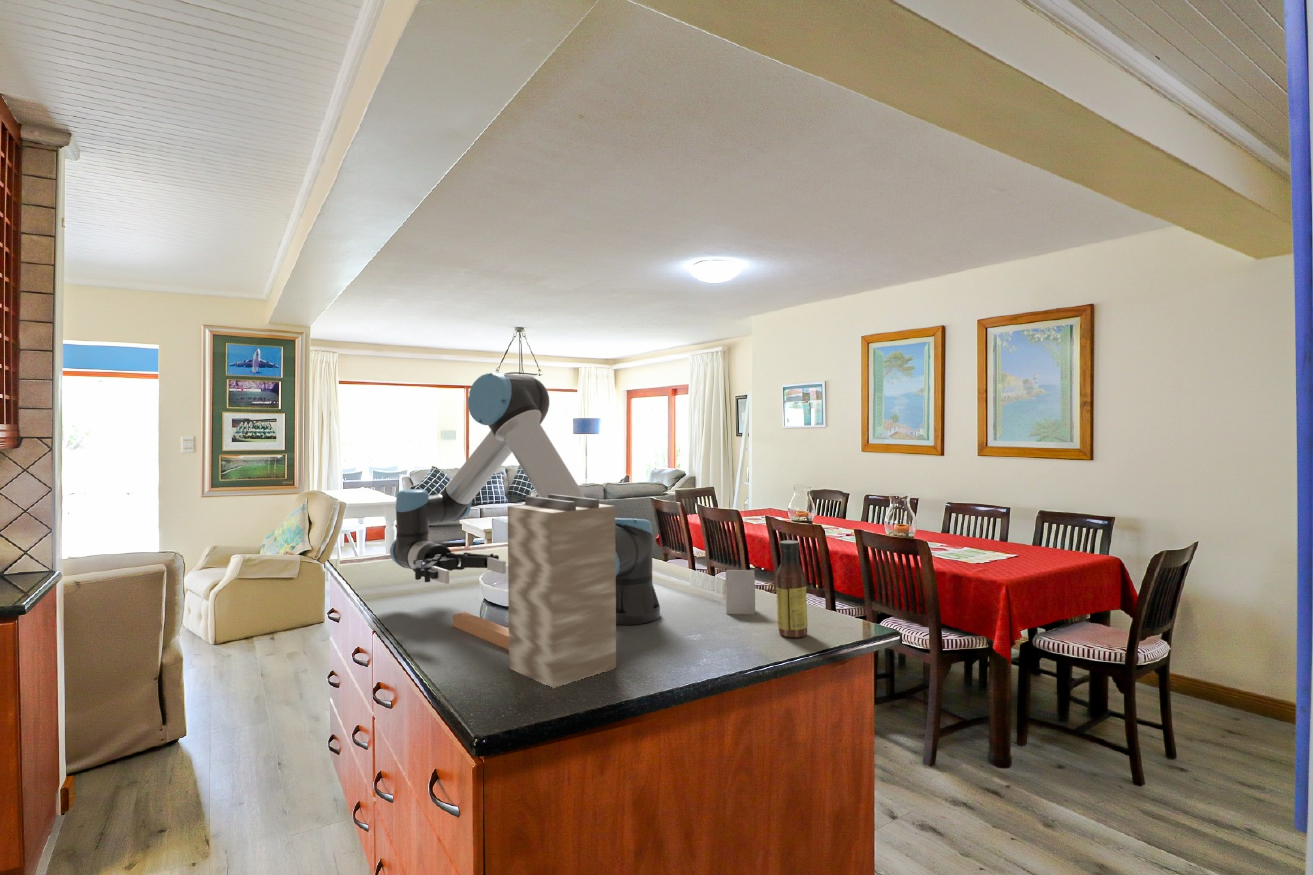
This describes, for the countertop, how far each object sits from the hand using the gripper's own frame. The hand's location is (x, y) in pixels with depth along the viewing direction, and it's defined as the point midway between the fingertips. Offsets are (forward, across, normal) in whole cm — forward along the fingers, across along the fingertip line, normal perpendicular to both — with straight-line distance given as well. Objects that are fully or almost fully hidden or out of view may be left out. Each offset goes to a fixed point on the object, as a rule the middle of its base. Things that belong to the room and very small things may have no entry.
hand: (476, 572), depth 150 cm
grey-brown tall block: (+30, 0, -13) cm, 33 cm away
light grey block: (+29, -53, -13) cm, 62 cm away
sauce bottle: (+48, -47, -13) cm, 69 cm away
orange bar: (+4, 0, -14) cm, 14 cm away
